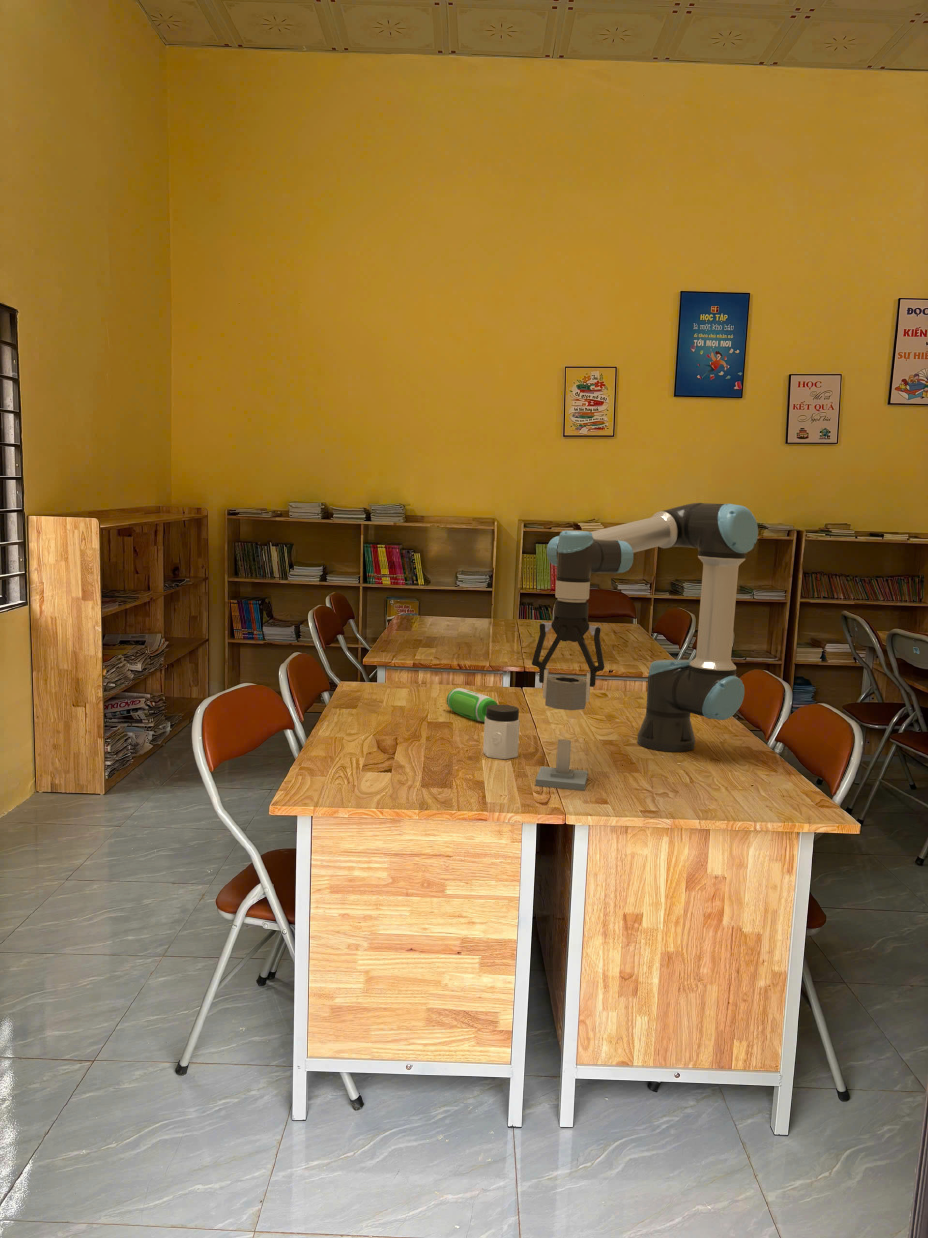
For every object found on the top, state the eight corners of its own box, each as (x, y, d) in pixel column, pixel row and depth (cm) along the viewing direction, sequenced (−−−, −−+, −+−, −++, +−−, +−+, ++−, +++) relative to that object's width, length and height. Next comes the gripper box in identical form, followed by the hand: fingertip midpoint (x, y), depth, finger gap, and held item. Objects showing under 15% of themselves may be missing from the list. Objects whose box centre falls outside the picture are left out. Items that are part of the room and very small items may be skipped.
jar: (478, 756, 243) (480, 709, 241) (487, 749, 250) (489, 703, 249) (513, 761, 240) (516, 713, 239) (521, 753, 248) (524, 706, 246)
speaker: (499, 722, 281) (501, 697, 280) (479, 725, 277) (480, 699, 276) (464, 710, 295) (465, 685, 294) (444, 712, 291) (445, 687, 290)
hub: (586, 703, 226) (588, 678, 225) (583, 711, 218) (585, 685, 217) (548, 700, 228) (550, 674, 227) (543, 707, 219) (545, 681, 218)
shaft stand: (587, 777, 229) (590, 737, 228) (584, 790, 218) (587, 749, 217) (540, 772, 231) (542, 733, 230) (535, 785, 220) (537, 744, 219)
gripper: (621, 601, 221) (614, 699, 224) (526, 595, 225) (521, 692, 228) (620, 604, 214) (613, 706, 217) (521, 598, 218) (516, 698, 221)
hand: (566, 698), depth 222 cm, fingers closed on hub, 9 cm apart
